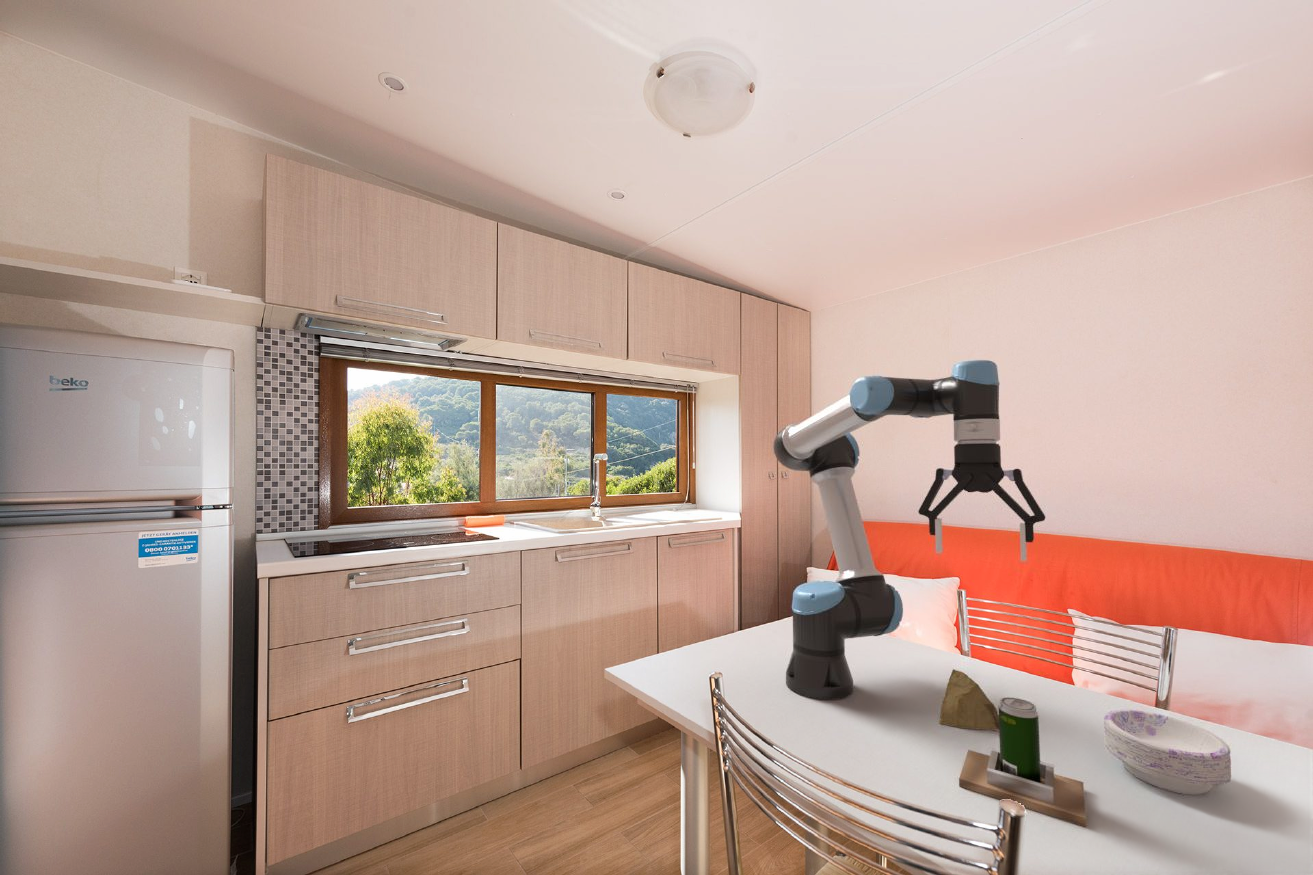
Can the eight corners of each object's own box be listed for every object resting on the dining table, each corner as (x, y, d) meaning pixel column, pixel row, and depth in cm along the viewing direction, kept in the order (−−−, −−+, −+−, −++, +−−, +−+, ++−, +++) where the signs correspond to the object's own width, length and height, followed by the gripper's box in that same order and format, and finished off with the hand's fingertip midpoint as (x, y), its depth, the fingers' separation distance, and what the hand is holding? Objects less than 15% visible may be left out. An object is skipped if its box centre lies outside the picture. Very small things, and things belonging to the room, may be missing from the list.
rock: (1012, 713, 107) (959, 689, 114) (1008, 686, 103) (953, 664, 111) (993, 759, 101) (938, 732, 109) (987, 733, 98) (931, 707, 105)
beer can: (1031, 794, 82) (1029, 714, 83) (994, 777, 86) (991, 701, 87) (1047, 783, 85) (1044, 705, 85) (1009, 767, 89) (1007, 693, 90)
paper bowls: (1203, 817, 79) (1201, 762, 79) (1086, 764, 92) (1084, 717, 93) (1252, 792, 85) (1249, 741, 85) (1135, 746, 99) (1133, 702, 99)
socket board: (959, 786, 86) (958, 765, 86) (968, 756, 95) (967, 737, 95) (1086, 826, 76) (1085, 803, 77) (1083, 789, 85) (1082, 769, 85)
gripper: (901, 443, 105) (903, 552, 104) (1059, 440, 90) (1063, 567, 89) (909, 444, 111) (911, 547, 110) (1059, 442, 96) (1063, 560, 95)
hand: (979, 556), depth 100 cm, fingers open, 13 cm apart
